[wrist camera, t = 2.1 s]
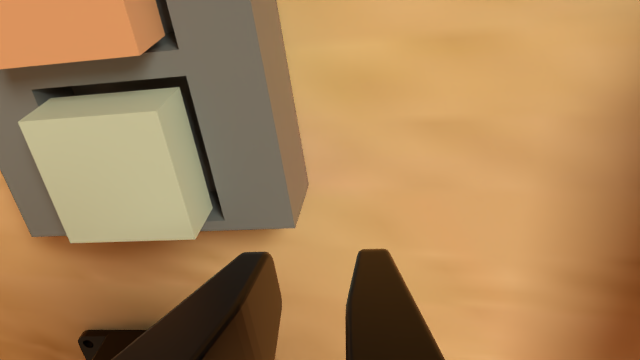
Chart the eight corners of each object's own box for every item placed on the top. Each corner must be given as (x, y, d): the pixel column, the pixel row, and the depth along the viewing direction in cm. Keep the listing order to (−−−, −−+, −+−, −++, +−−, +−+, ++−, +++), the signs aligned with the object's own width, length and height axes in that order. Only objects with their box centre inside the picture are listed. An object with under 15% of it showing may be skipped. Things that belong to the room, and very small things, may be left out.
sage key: (212, 208, 20) (195, 239, 18) (96, 212, 21) (70, 243, 19) (179, 86, 18) (156, 110, 16) (50, 98, 19) (17, 121, 17)
